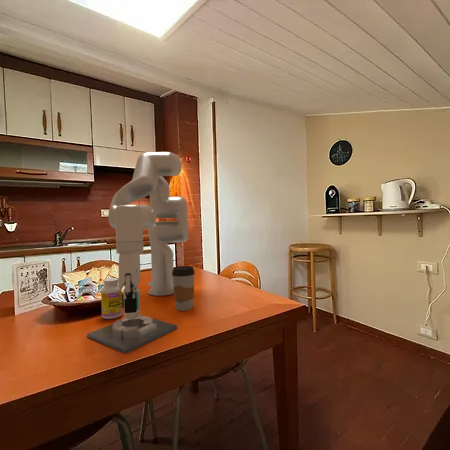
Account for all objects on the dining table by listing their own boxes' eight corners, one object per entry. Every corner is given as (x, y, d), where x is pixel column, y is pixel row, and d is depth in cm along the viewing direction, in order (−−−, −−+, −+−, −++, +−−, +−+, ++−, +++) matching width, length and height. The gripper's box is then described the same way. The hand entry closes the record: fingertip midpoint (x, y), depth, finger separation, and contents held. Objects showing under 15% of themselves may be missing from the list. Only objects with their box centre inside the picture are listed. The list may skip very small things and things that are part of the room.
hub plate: (87, 337, 81) (86, 326, 80) (138, 317, 95) (138, 308, 95) (125, 353, 70) (125, 341, 70) (177, 328, 85) (176, 318, 85)
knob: (121, 316, 82) (120, 289, 82) (133, 312, 85) (132, 285, 85) (132, 320, 79) (131, 291, 79) (145, 315, 82) (144, 288, 82)
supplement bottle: (107, 321, 93) (105, 282, 92) (98, 316, 97) (97, 279, 97) (126, 315, 97) (124, 278, 97) (117, 311, 102) (115, 276, 101)
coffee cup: (199, 305, 106) (198, 266, 106) (189, 313, 98) (188, 270, 98) (179, 303, 109) (178, 265, 108) (168, 310, 101) (167, 269, 100)
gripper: (121, 245, 89) (123, 302, 90) (109, 251, 73) (112, 321, 73) (146, 244, 91) (148, 300, 91) (139, 250, 74) (142, 318, 75)
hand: (132, 308), depth 82 cm, fingers closed on knob, 4 cm apart
